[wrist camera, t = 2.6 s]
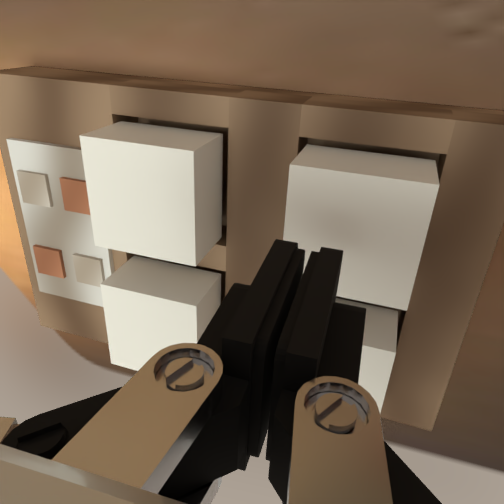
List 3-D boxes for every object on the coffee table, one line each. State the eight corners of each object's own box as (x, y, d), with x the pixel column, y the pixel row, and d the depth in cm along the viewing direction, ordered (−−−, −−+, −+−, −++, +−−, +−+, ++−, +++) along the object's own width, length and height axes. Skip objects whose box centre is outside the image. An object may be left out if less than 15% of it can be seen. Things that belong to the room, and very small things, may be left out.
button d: (221, 273, 21) (196, 306, 18) (220, 349, 23) (197, 387, 20) (134, 255, 22) (100, 283, 19) (141, 329, 24) (111, 363, 22)
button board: (517, 112, 17) (540, 131, 14) (429, 386, 23) (431, 439, 20) (32, 66, 22) (-27, 72, 19) (73, 298, 29) (34, 330, 26)
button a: (435, 160, 16) (439, 184, 13) (407, 272, 18) (406, 310, 15) (307, 144, 17) (289, 164, 14) (295, 251, 19) (278, 284, 16)
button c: (223, 133, 18) (193, 151, 15) (221, 237, 20) (195, 266, 17) (121, 121, 19) (79, 135, 16) (130, 220, 21) (94, 245, 18)
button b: (398, 310, 19) (396, 352, 16) (378, 390, 21) (374, 437, 18) (291, 288, 20) (275, 324, 17) (283, 366, 22) (268, 407, 20)
